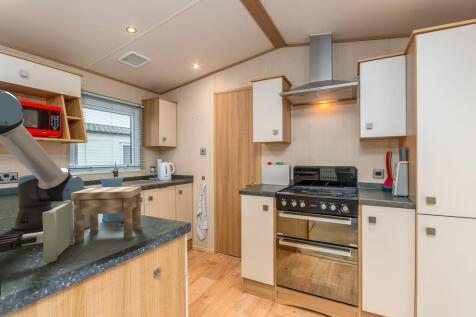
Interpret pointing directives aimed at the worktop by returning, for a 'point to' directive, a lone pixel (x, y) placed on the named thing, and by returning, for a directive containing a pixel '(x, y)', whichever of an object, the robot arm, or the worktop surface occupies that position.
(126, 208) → the stool
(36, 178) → the robot arm
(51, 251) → the pale green flat panel
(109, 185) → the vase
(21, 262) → the worktop surface
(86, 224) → the flask
